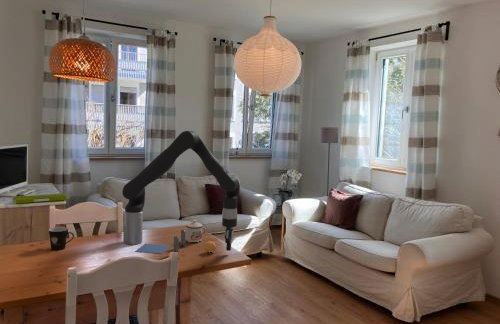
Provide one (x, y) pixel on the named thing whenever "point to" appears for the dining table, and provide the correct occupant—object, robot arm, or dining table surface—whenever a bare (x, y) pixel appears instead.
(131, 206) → the robot arm
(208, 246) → the ball
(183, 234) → the post
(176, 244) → the post
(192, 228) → the teacup with lid
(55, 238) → the coffee mug
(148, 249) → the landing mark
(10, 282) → the dining table surface
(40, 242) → the dining table surface
